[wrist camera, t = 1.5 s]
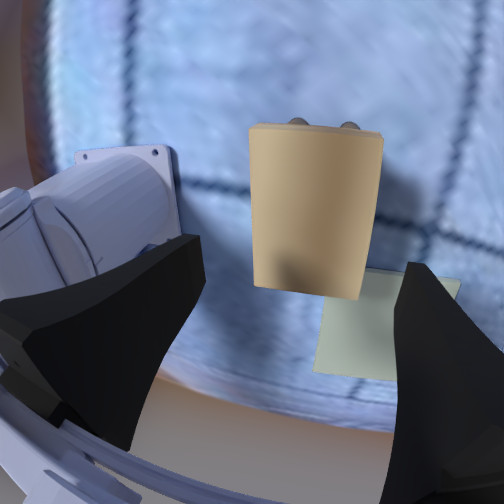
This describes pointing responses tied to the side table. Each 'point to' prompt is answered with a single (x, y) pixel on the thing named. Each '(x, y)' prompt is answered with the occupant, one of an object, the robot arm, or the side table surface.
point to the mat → (364, 328)
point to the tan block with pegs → (313, 205)
